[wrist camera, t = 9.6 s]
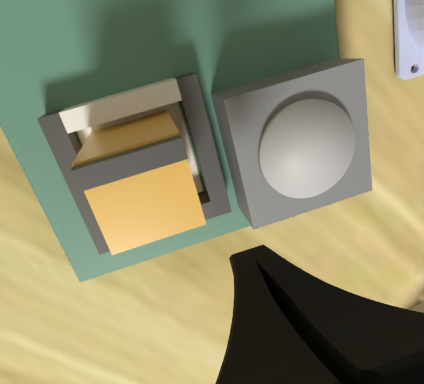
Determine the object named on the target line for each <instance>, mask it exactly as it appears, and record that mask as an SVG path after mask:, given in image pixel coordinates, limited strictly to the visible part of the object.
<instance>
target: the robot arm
mask: <svg viewBox="0 0 424 384" xmlns="http://www.w3.org/2000/svg"><path fill="white" fill-rule="evenodd" d="M394 30H395V64H396V76H397V78H399V79H402V80H406V79H410V78H413V77H417V76H420V75H423V74H424V0H394ZM412 66H414V69H413V71H412V72H411V67H412ZM229 259H230V263H231V267H232V271H233V275H234V308H233V317H232V324H231V330H230V336H229V340H228V345H227V349H226V353H225V356H224V360H223V363H222V366H221V369H220V372H219V375H218V378H217V381H216V384H424V313H422V312H416V311H412V310H408V309H403V308H399V307H395V306H391V305H387V304H384V303H380V302H377V301H374V300H370V299H367V298H364V297H361V296H358V295H355V294H353V293H350V292H347V291H345V290H342V289H340V288H338V287H335V286H333V285H330V284H328V283H326V282H324V281H322V280H320V279H318V278H316V277H314V276H312V275H311V274H309V273H307V272H305V271H303V270H302V269H300V268H298V267H297V266H295V265H293V264H292V263H290V262H289V261H287V260H285V259H284V258H282V257H281V256H279V255H278V254H276V253H275V252H274V251H272V250H271V249H269V248H268V247H266V246H265V245H261V246H258V247H255V248H251V249H248V250H245V251H242V252H239V253H236V254H233V255H231V257H230V258H229Z"/></svg>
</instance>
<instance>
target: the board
mask: <svg viewBox="0 0 424 384" xmlns="http://www.w3.org/2000/svg"><path fill="white" fill-rule="evenodd" d="M163 110H167V112H168V113H169V115H170V117H171V118H172V120H173V122H174V124H175V125H176V127H177V129H178V130H179V132H180V135H181V137H182V139H183V143H184V146H185V149H186V153H187V156H188V163H189V166H190V170H191V173H192V176H193V180H194V183H195V187H196V190H197V193H198V197H199V200H200V204H201V207H202V210H203V214H204V217H205V220H206V225H203V226H200V227H197V228H194V229H191V230H188V231H185V232H182V233H178V234H175V235H172V236H169V237H166V238H163V239H160V240H157V241H154V242H151V243H148V244H145V245H142V246H139V247H136V248H133V249H130V250H127V251H124V252H121V253H117V254H114V255H112V254H111V252H110V249H109V247H108V245H107V243H106V240H105V238H104V236H103V234H102V231H101V229H100V227H99V225H98V222H97V220H96V218H95V216H94V213H93V211H92V209H91V207H90V204H89V202H88V200H87V198H86V195H85V193H84V191H82V192H79V191H78V189H77V186H76V184H75V182H74V180H73V178H72V175H71V173H70V171H71V169H72V167H73V166H72V163H73V161H74V159H75V158H76V156H77V154H78V153H79V151H80V149H81V148H82V146H83V145H84V143H85V141H86V140H87V138H88V136H89V135H90V133H91V131H94V130H98V129H101V128H104V127H108V126H111V125H115V124H118V123H122V122H125V121H128V120H132V119H135V118H139V117H142V116H146V115H149V114H152V113H156V112H159V111H163ZM0 126H1V128H2V130H3V132H4V134H5V136H6V138H7V140H8V142H9V144H10V146H11V148H12V149H13V151H14V153H15V155H16V157H17V159H18V161H19V163H20V165H21V167H22V169H23V171H24V173H25V175H26V177H27V179H28V181H29V183H30V185H31V187H32V189H33V191H34V193H35V195H36V197H37V199H38V201H39V203H40V205H41V207H42V208H43V210H44V212H45V214H46V216H47V218H48V220H49V222H50V224H51V226H52V228H53V230H54V232H55V234H56V236H57V238H58V240H59V242H60V244H61V246H62V248H63V250H64V252H65V254H66V256H67V258H68V260H69V262H70V264H71V265H72V267H73V269H74V271H75V273H76V275H77V277H78V279H79V281H80V282H82V281H85V280H88V279H91V278H94V277H97V276H100V275H103V274H106V273H109V272H112V271H115V270H118V269H121V268H124V267H127V266H131V265H134V264H137V263H140V262H143V261H146V260H149V259H152V258H155V257H158V256H161V255H164V254H167V253H170V252H173V251H176V250H179V249H182V248H185V247H188V246H191V245H194V244H197V243H200V242H203V241H206V240H209V239H212V238H215V237H218V236H221V235H224V234H227V233H230V232H233V231H236V230H239V229H242V228H245V227H248V226H252V228H253V229H257V228H260V227H263V226H266V225H269V224H272V223H275V222H278V221H281V220H284V219H287V218H290V217H293V216H296V215H299V214H302V213H305V212H308V211H311V210H314V209H317V208H320V207H323V206H326V205H329V204H332V203H335V202H338V201H341V200H344V199H347V198H350V197H353V196H356V195H359V194H362V193H365V192H368V191H371V190H372V179H371V164H370V149H369V133H368V118H367V103H366V88H365V72H364V59H339V50H338V40H337V29H336V18H335V7H334V0H0Z"/></svg>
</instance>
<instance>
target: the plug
mask: <svg viewBox="0 0 424 384" xmlns="http://www.w3.org/2000/svg"><path fill="white" fill-rule="evenodd" d="M72 166H73V167H72V169H71V171H70V173H71V175H72V178H73V180H74V182H75V184H76V186H77V189H78V191H79V192H82V191H84V193H85V195H86V198H87V200H88V202H89V204H90V207H91V209H92V211H93V213H94V216H95V218H96V220H97V222H98V225H99V227H100V229H101V231H102V234H103V236H104V238H105V240H106V243H107V245H108V247H109V249H110V252H111V254H112V255H114V254H117V253H121V252H124V251H127V250H130V249H133V248H136V247H139V246H142V245H145V244H148V243H151V242H154V241H157V240H160V239H163V238H166V237H169V236H172V235H175V234H178V233H182V232H185V231H188V230H191V229H194V228H197V227H200V226H203V225H206V220H205V217H204V214H203V210H202V207H201V204H200V200H199V197H198V193H197V190H196V187H195V183H194V180H193V176H192V173H191V170H190V166H189V163H188V156H187V153H186V149H185V146H184V143H183V139H182V137H181V135H180V132H179V130H178V129H177V127H176V125H175V124H174V122H173V120H172V118H171V117H170V115H169V113H168V112H167V110H163V111H159V112H156V113H152V114H149V115H146V116H142V117H139V118H135V119H132V120H128V121H125V122H122V123H118V124H115V125H111V126H108V127H104V128H101V129H98V130H94V131H91V133H90V135H89V136H88V138H87V140H86V141H85V143H84V145H83V146H82V148H81V149H80V151H79V153H78V154H77V156H76V158H75V159H74V161H73V163H72Z"/></svg>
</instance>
